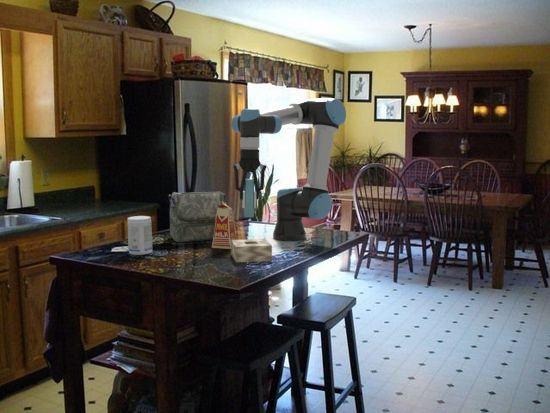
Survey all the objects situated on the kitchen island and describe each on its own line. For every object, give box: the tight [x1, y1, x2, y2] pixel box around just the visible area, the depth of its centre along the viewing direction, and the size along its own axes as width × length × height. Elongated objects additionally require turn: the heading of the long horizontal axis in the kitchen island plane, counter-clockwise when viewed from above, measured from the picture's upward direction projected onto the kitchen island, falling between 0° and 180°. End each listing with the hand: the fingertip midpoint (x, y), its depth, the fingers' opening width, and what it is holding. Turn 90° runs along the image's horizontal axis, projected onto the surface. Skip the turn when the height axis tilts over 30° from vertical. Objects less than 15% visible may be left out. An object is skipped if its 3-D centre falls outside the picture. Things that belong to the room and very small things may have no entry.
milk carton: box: [211, 201, 237, 250], centre depth 266 cm, size 9×9×20 cm
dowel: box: [243, 178, 255, 219], centre depth 246 cm, size 4×4×15 cm
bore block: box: [230, 238, 273, 263], centre depth 245 cm, size 14×14×6 cm
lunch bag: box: [168, 190, 226, 243], centre depth 284 cm, size 26×18×22 cm
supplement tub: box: [127, 215, 153, 256], centre depth 253 cm, size 10×10×15 cm
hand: (249, 207), depth 246 cm, fingers closed on dowel, 4 cm apart
